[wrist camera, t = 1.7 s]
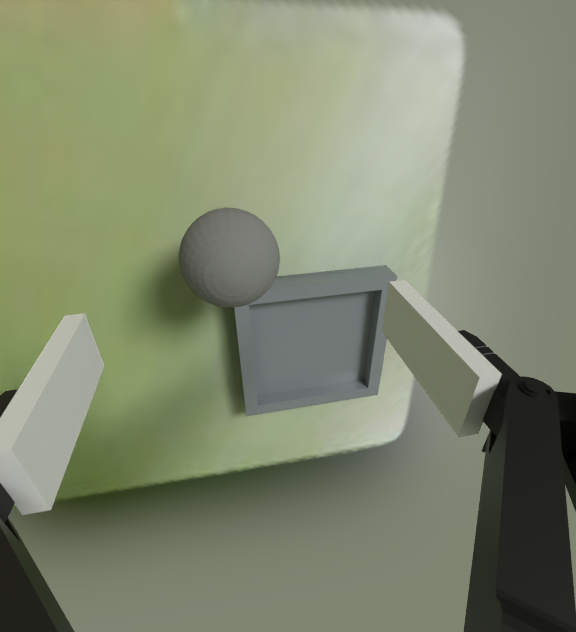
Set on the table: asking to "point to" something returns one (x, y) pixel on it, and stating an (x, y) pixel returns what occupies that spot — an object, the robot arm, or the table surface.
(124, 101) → the table surface
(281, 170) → the table surface
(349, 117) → the table surface
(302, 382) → the dish
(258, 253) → the grey light bulb
